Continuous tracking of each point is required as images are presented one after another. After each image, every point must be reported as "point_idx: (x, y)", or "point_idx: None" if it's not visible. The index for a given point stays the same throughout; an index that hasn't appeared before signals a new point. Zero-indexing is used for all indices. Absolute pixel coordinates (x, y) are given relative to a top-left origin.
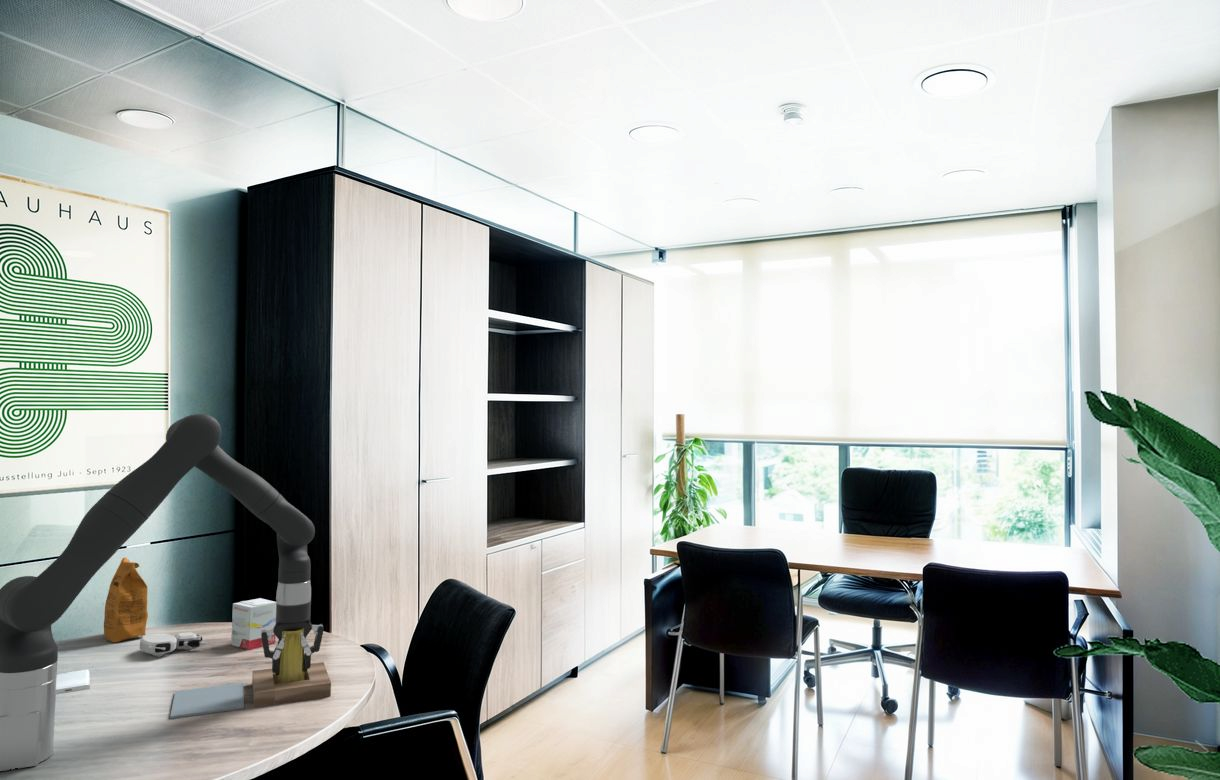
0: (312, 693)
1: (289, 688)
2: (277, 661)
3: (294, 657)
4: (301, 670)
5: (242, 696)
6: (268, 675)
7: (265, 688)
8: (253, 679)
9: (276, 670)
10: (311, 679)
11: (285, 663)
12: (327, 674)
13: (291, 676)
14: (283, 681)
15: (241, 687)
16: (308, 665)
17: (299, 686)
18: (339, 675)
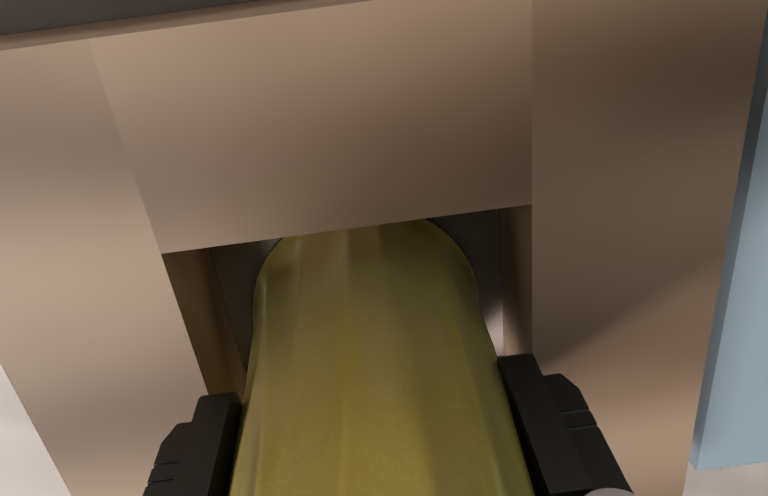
0: (110, 25)
1: (358, 4)
2: (563, 469)
3: (330, 476)
4: (255, 374)
5: (752, 207)
6: None
7: (631, 90)
8: (701, 377)
9: (536, 382)
10: (141, 248)
11: (454, 415)
12: (2, 356)
13: (359, 295)
14: (436, 282)
15: (722, 391)
16: (180, 449)
17: (239, 38)
18: (33, 493)
